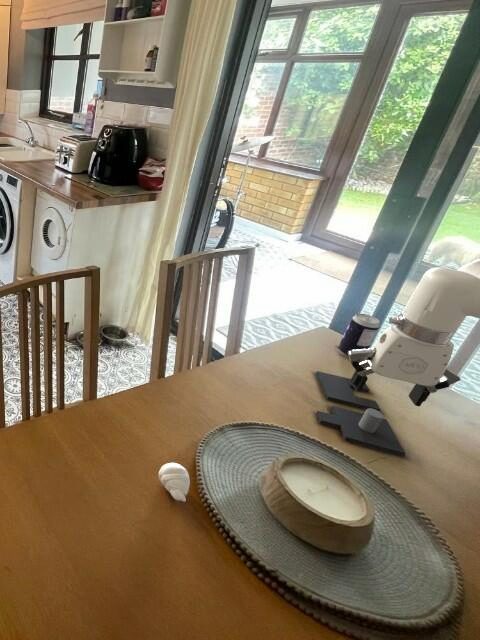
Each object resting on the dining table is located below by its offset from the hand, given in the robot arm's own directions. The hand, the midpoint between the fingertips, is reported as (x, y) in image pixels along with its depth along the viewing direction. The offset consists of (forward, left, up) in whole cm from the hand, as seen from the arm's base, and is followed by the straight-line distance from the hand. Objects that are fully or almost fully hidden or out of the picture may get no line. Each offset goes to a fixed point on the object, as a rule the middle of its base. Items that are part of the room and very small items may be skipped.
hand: (383, 394), depth 87 cm
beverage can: (-6, -32, -11) cm, 35 cm away
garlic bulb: (+39, +34, -11) cm, 53 cm away
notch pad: (0, -13, -11) cm, 17 cm away
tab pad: (+1, 0, -11) cm, 11 cm away
